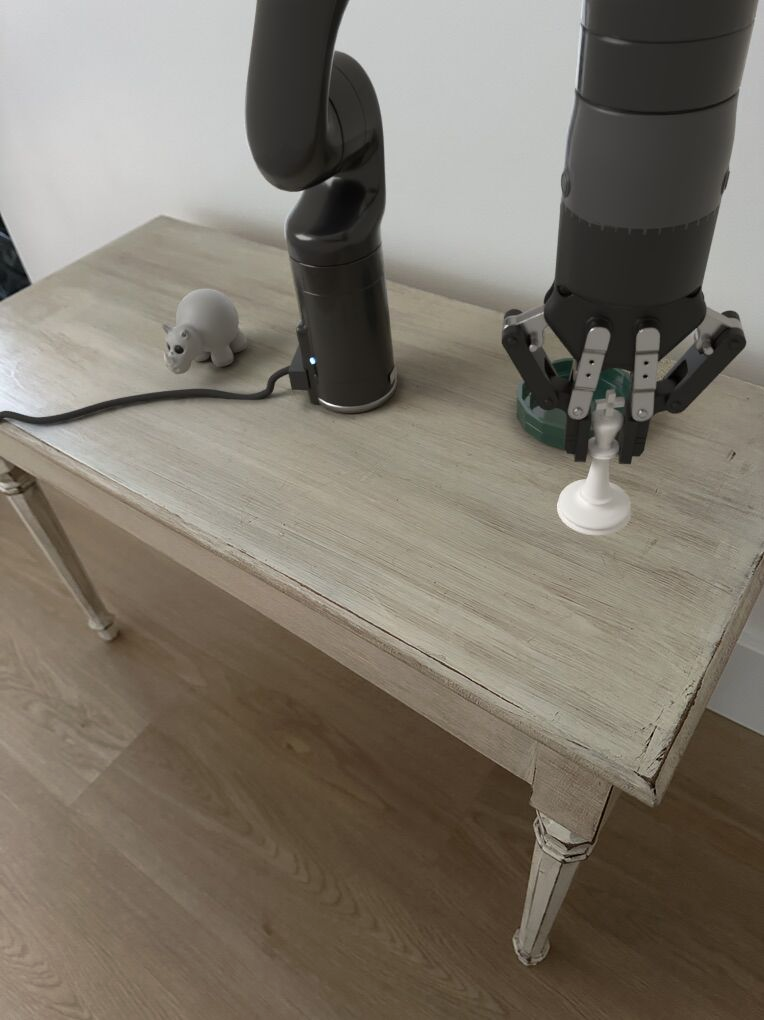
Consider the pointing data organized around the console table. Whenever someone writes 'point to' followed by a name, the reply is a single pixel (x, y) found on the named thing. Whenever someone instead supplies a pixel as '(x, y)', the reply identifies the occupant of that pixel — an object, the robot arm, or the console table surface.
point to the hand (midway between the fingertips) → (601, 453)
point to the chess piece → (598, 478)
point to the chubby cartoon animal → (203, 331)
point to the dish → (552, 422)
